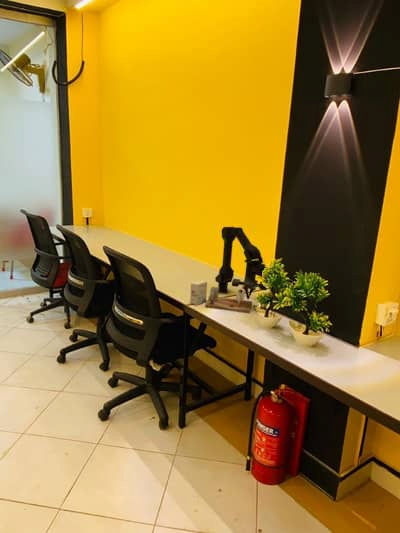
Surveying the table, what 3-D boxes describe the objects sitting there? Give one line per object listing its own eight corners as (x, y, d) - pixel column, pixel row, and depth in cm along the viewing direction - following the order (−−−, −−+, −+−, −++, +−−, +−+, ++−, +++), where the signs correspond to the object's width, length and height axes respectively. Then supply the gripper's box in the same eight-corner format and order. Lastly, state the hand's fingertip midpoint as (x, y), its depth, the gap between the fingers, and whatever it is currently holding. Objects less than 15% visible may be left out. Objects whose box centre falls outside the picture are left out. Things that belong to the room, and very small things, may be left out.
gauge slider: (236, 300, 218) (237, 288, 217) (243, 301, 218) (245, 289, 216) (234, 306, 210) (235, 293, 208) (242, 307, 209) (243, 294, 207)
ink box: (199, 299, 221) (200, 279, 218) (206, 301, 218) (208, 281, 215) (189, 303, 214) (190, 282, 211) (196, 305, 211) (198, 284, 208)
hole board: (209, 299, 222) (209, 294, 221) (251, 305, 218) (252, 300, 217) (204, 307, 210) (205, 302, 209) (249, 313, 206) (250, 308, 205)
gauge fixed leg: (211, 296, 221) (212, 286, 220) (218, 297, 220) (219, 287, 219) (208, 302, 212) (208, 291, 211) (215, 303, 211) (216, 292, 210)
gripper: (231, 273, 205) (229, 301, 209) (267, 278, 202) (264, 306, 206) (234, 268, 215) (231, 295, 220) (268, 272, 212) (265, 299, 216)
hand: (247, 299), depth 215 cm, fingers closed
